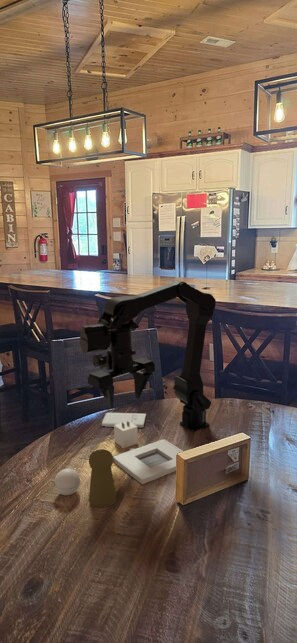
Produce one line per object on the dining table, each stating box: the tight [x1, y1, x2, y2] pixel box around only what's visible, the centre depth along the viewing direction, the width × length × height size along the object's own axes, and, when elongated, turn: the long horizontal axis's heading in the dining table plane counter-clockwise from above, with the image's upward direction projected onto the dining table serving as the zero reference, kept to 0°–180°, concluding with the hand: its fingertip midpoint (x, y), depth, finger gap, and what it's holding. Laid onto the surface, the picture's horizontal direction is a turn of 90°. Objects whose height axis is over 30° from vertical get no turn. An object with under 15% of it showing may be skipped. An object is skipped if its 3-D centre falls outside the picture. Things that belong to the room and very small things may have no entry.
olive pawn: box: [88, 448, 117, 508], centre depth 96 cm, size 6×6×11 cm
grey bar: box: [112, 447, 135, 457], centre depth 114 cm, size 9×2×1 cm, turn 125°
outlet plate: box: [113, 438, 184, 485], centre depth 112 cm, size 16×13×1 cm
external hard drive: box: [101, 412, 147, 429], centre depth 136 cm, size 2×8×12 cm
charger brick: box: [113, 421, 139, 449], centre depth 122 cm, size 5×5×6 cm
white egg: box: [53, 468, 81, 496], centre depth 98 cm, size 8×6×6 cm
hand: (124, 402), depth 119 cm, fingers open, 9 cm apart
